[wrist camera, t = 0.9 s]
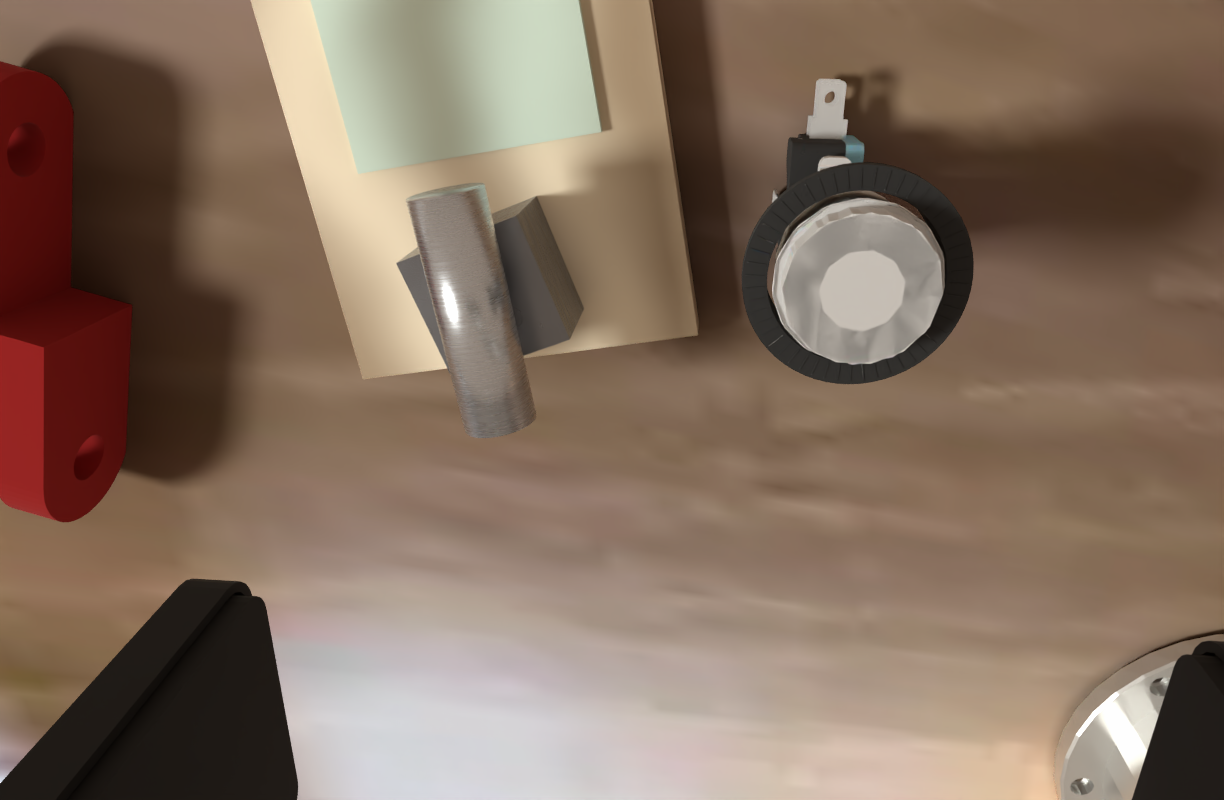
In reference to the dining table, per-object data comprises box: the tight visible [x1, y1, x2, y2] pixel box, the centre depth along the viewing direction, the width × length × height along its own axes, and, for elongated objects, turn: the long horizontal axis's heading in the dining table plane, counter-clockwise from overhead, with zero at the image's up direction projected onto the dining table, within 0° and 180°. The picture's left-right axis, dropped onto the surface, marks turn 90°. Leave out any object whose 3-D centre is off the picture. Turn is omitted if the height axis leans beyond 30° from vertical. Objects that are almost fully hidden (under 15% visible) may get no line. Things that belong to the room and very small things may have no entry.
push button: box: [742, 79, 973, 384], centre depth 25 cm, size 7×5×10 cm
